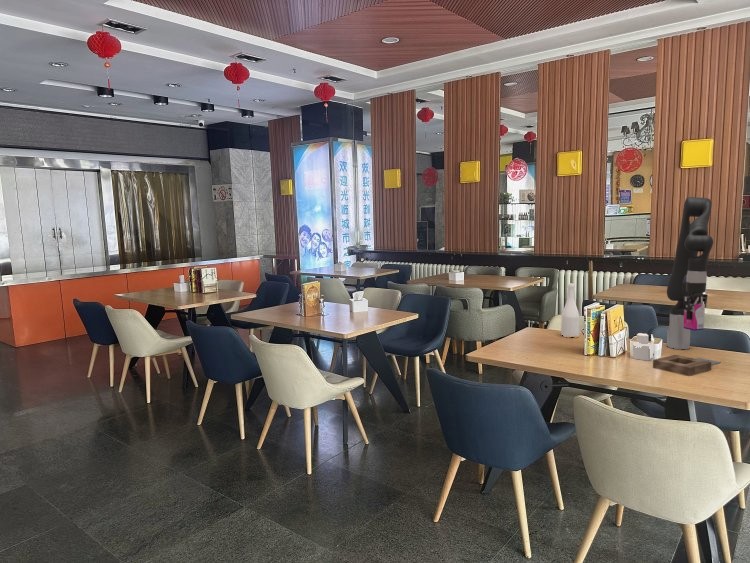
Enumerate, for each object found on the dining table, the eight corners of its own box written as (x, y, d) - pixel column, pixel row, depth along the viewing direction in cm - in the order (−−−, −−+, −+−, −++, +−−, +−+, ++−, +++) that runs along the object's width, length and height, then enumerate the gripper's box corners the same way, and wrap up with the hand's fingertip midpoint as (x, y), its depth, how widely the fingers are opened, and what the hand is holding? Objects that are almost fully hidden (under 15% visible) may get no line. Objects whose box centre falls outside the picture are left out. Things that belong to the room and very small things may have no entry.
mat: (685, 361, 243) (685, 360, 243) (698, 358, 248) (698, 357, 248) (708, 366, 234) (708, 365, 234) (720, 363, 239) (720, 362, 239)
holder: (652, 367, 235) (653, 359, 234) (674, 362, 242) (674, 354, 242) (689, 376, 221) (689, 367, 220) (711, 370, 229) (711, 362, 228)
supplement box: (692, 327, 240) (694, 301, 239) (704, 329, 235) (706, 304, 233) (682, 328, 239) (684, 302, 237) (693, 330, 233) (695, 304, 231)
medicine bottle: (638, 355, 256) (638, 331, 254) (654, 358, 250) (654, 333, 249) (632, 358, 251) (633, 333, 249) (648, 361, 246) (649, 335, 244)
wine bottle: (562, 338, 297) (563, 284, 294) (559, 334, 306) (560, 282, 303) (580, 338, 296) (581, 284, 292) (577, 334, 305) (578, 282, 302)
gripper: (697, 278, 240) (695, 315, 243) (677, 281, 234) (675, 318, 236) (714, 280, 234) (712, 318, 236) (694, 283, 227) (692, 322, 229)
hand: (694, 318), depth 236 cm, fingers closed on supplement box, 6 cm apart
